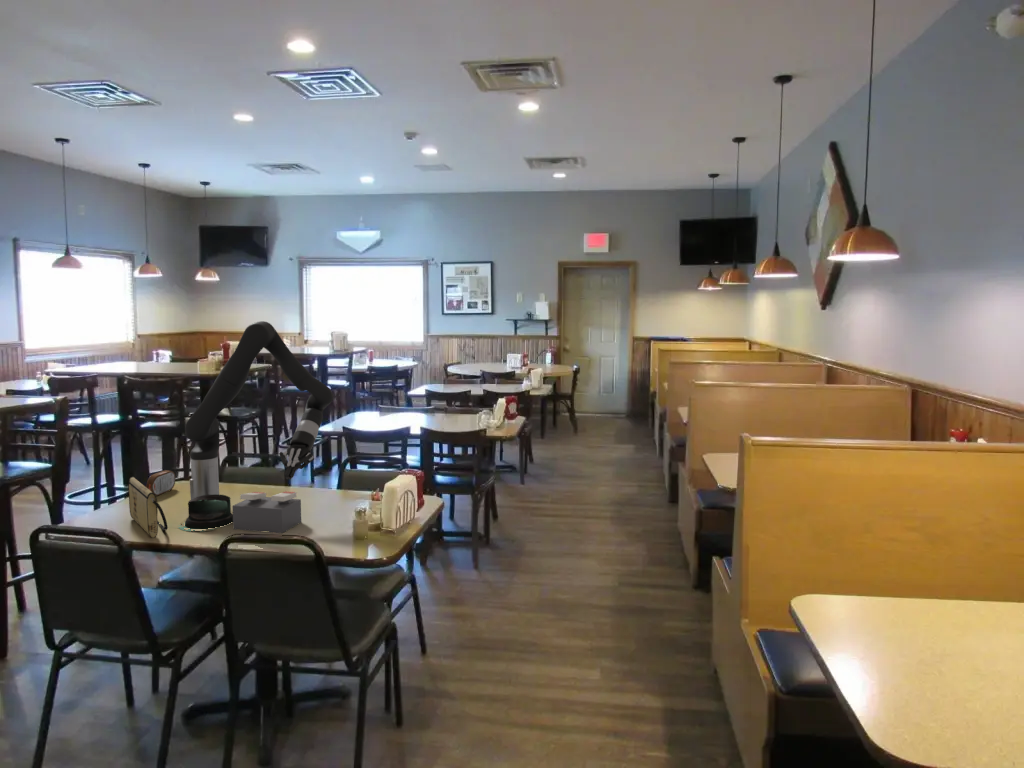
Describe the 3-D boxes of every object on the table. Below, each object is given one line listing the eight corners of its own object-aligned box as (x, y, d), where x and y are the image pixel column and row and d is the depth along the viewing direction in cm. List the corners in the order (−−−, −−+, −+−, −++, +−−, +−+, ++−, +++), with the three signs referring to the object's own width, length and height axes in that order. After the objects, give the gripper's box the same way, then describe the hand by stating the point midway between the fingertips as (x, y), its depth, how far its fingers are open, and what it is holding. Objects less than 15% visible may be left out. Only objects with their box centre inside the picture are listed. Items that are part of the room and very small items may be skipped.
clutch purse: (173, 535, 222) (171, 490, 221) (150, 540, 218) (147, 494, 216) (150, 514, 245) (148, 473, 243) (128, 518, 240) (125, 476, 239)
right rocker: (284, 496, 236) (284, 491, 236) (296, 497, 235) (296, 492, 235) (271, 500, 228) (271, 495, 228) (283, 501, 228) (283, 496, 227)
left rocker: (254, 496, 237) (254, 491, 237) (265, 497, 236) (266, 492, 236) (240, 499, 229) (240, 493, 229) (252, 500, 228) (252, 494, 228)
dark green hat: (234, 511, 250) (232, 486, 249) (248, 525, 234) (247, 499, 233) (173, 520, 239) (172, 494, 237) (184, 536, 222) (182, 508, 221)
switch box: (254, 518, 241) (253, 494, 240) (301, 522, 237) (300, 497, 236) (233, 529, 229) (232, 503, 228) (282, 533, 225) (281, 507, 224)
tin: (170, 488, 280) (169, 467, 279) (177, 488, 280) (176, 468, 279) (145, 498, 266) (144, 476, 265) (153, 498, 265) (152, 477, 264)
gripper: (284, 428, 243) (265, 470, 232) (318, 430, 240) (301, 473, 230) (292, 440, 249) (274, 482, 238) (326, 442, 246) (309, 484, 235)
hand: (287, 477), depth 234 cm, fingers closed
